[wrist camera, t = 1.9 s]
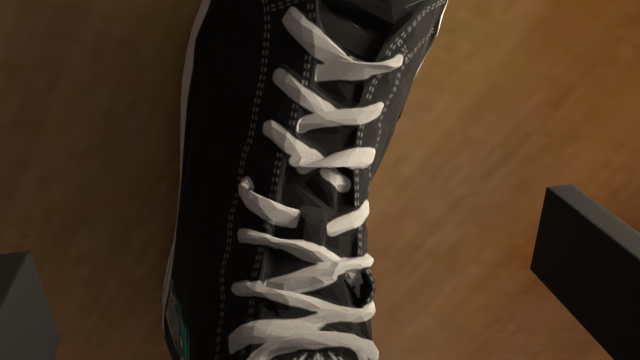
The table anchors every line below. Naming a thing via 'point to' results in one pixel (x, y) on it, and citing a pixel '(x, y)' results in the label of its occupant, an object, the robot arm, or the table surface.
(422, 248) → the table surface
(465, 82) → the table surface
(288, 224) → the sneaker
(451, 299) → the table surface
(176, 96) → the table surface
